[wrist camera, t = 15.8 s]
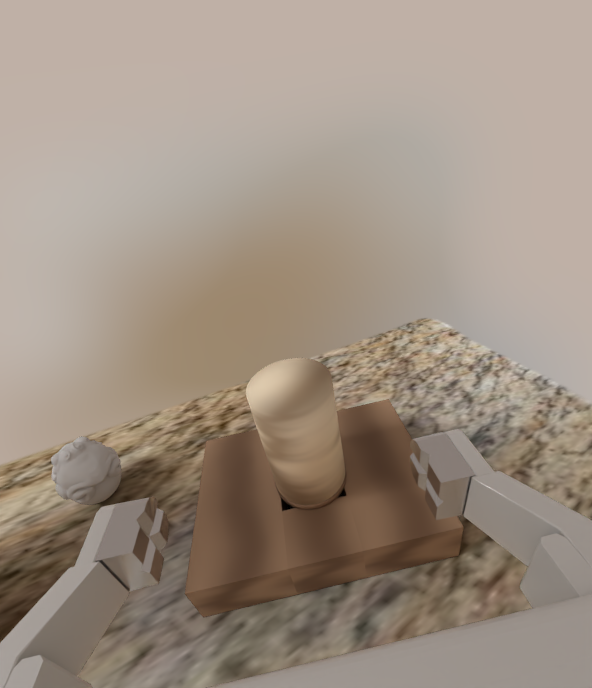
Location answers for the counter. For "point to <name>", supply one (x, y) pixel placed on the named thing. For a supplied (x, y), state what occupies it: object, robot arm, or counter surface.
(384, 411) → the walnut board
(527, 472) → the counter surface
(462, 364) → the counter surface
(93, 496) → the frog figurine
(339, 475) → the maple leg
